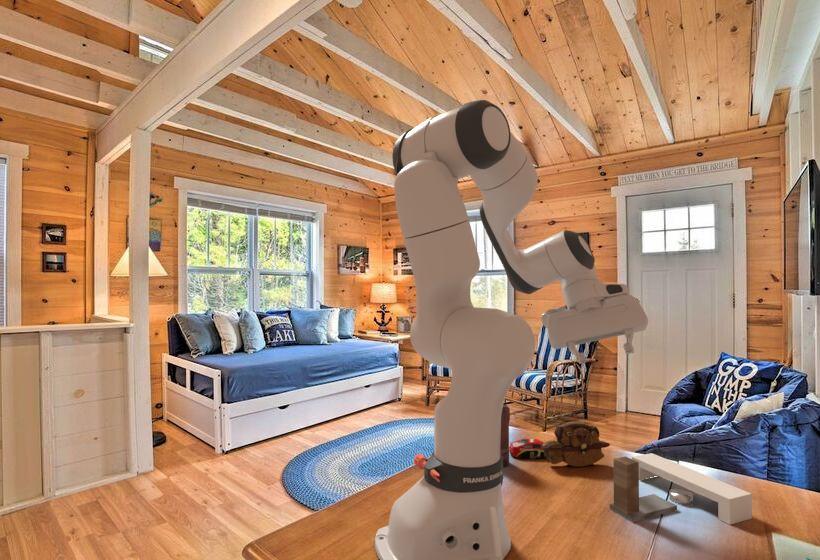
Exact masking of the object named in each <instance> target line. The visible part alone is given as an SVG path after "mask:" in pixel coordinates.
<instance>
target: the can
mask: <svg viewBox="0 0 820 560" xmlns="http://www.w3.org/2000/svg"><path fill="white" fill-rule="evenodd" d="M510 419H511V411H510V407H509V406H508V404H507V403H503V407H502V413H501V438H500V454H501V455H502V457H503V468H505V467H507V466H508V465H509V463H510V452H509V447H510Z"/></svg>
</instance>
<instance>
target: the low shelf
mask: <svg viewBox="0 0 820 560" xmlns="http://www.w3.org/2000/svg"><path fill="white" fill-rule="evenodd" d="M631 459H632V460H635V461H637V462H639V480H641V481H643V480H642V479H646V478H650V477H654V476H660V477H661V478H662V479H665V480H667V481H670V482H672V483H674V484H676V485H678V486H680V487H683V488H685V489H687V490H690V491H692V492H694V493H696V494H699V495H700V496H703V497H705V498H708V499H709V500H711V501H714V502H716V503H717V507H718V510H717V511H718V517H717V518H718V520H719V521H721V522H722V523H723V522H724V523H726V524H728V525H735V524H738V523H741V522H744V521H748V520H752V519H753V514H752V513H753V509H752V508H753V505H752V502H753V501H752V499H753V498H752V493H751V492H748V491H747V490H743V489H741V488H739V487H736V486H734V485H731V484H729V483H726V482H724V481H721V480H719V479H717V478H714V477H712V476H709V475H707V474H704V473H701V472H699V471H697V470H694V469H692V468H689V467H687V466H684V465H682V464H679V463H677V462H674V461H673V460H672V461H671V460H669V459H667V458H664V457H662V456H660V455H657V454H654V453H652V452H650V453H645V454H640V455H635V456H631ZM646 480H647V479H646Z"/></svg>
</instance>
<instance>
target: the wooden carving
mask: <svg viewBox="0 0 820 560" xmlns="http://www.w3.org/2000/svg"><path fill="white" fill-rule="evenodd" d="M598 428H599V427H597V426H595V425H593V424H586V423H583V422H582V421H581V422H580V421H576V420H575V421H568V422H564V423H563V424H562V425H559V424H557V425H556V426H555V428H554V432H553V433H554V436H555V437H556V440H549V441H546V442H544V444H543V445H542V447H541V448H542V450H544V453H545V454H546V458H545V459H546V461H547V463H549V464H550V463H551V464H552V465H557V464H560V463H562V462H563V464H564V463H565V464H567V465H568V466H572V467H581V468H582V467H587V466H590V465H591V466H592V465H593V464H595V463H597V462H599V461H600V460H602V459H603V458H604V457H605V456H606V455H605V454H604V453H603V451H602V448H604V449H605V448H608V447H610V446H611V443H609V442H606V441H605V440H604V441H603V440H600V430H599V429H598Z"/></svg>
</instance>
